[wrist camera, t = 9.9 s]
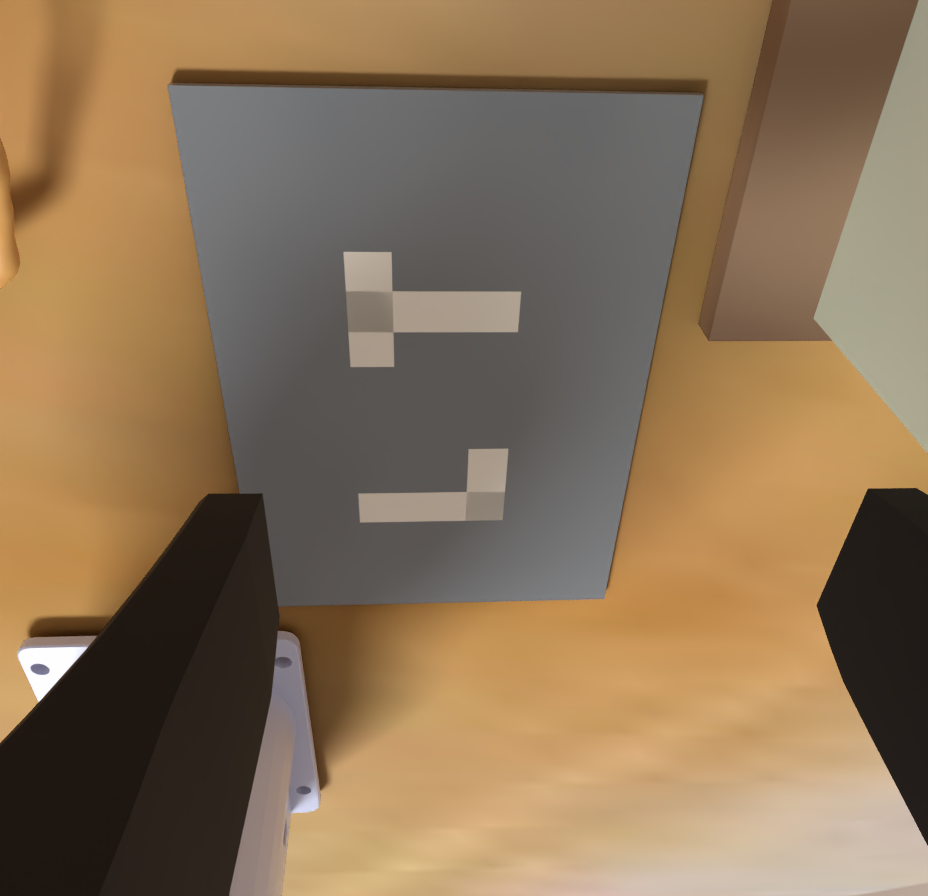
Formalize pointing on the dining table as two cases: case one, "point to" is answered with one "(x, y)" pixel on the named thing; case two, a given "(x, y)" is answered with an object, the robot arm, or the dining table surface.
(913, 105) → the sage block
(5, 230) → the figurine
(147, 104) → the dining table surface
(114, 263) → the dining table surface
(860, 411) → the dining table surface
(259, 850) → the robot arm
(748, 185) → the walnut pad
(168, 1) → the dining table surface
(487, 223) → the grey tile
